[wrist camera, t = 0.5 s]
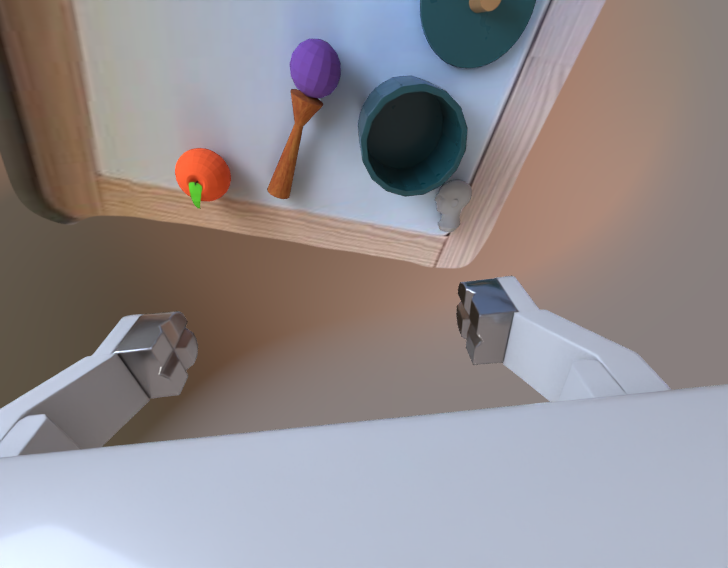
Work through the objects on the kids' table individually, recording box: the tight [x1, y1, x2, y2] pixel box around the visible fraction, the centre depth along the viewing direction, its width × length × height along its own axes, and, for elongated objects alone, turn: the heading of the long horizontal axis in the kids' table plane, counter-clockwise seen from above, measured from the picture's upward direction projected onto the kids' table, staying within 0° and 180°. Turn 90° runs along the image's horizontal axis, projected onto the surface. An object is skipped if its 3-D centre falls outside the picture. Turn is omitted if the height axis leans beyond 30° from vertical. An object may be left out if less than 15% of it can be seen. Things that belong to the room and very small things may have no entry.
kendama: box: [267, 39, 341, 199], centre depth 45 cm, size 6×6×20 cm
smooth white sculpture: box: [435, 180, 472, 232], centre depth 54 cm, size 4×8×5 cm
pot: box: [358, 76, 467, 196], centre depth 45 cm, size 12×12×10 cm
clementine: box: [175, 148, 231, 208], centre depth 48 cm, size 8×7×7 cm
